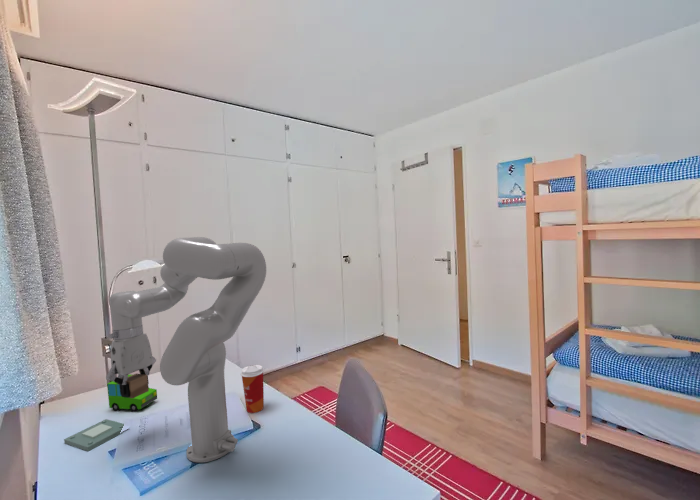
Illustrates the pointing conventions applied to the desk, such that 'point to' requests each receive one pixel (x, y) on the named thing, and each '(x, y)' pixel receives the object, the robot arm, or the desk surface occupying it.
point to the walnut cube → (137, 385)
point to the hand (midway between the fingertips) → (135, 391)
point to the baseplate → (95, 435)
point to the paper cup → (253, 388)
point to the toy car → (128, 403)
